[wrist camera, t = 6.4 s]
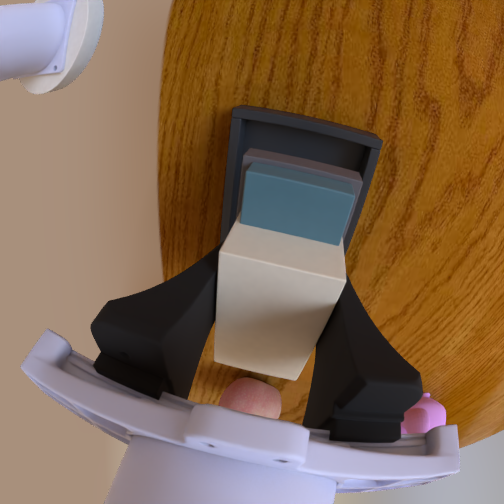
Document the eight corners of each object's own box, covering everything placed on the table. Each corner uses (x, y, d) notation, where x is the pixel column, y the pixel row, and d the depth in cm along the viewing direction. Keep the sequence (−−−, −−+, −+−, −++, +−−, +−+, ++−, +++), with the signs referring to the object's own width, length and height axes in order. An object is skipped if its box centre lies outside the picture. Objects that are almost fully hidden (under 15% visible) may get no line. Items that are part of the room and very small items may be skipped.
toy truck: (305, 324, 17) (297, 385, 13) (231, 307, 17) (209, 364, 14) (359, 172, 11) (378, 221, 7) (249, 147, 11) (216, 184, 8)
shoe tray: (241, 104, 16) (232, 107, 14) (376, 134, 15) (383, 141, 13) (222, 290, 25) (215, 306, 24) (314, 312, 25) (313, 329, 23)
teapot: (367, 376, 29) (364, 469, 20) (465, 364, 25) (480, 447, 16) (351, 428, 40) (346, 488, 30) (423, 421, 36) (425, 478, 26)
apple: (225, 359, 32) (206, 415, 26) (287, 368, 31) (276, 428, 25) (231, 387, 37) (217, 435, 31) (284, 395, 36) (274, 445, 29)
